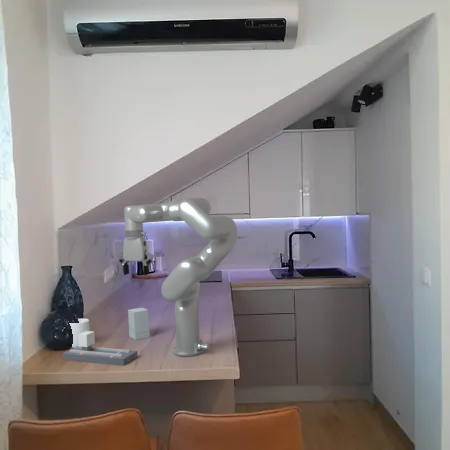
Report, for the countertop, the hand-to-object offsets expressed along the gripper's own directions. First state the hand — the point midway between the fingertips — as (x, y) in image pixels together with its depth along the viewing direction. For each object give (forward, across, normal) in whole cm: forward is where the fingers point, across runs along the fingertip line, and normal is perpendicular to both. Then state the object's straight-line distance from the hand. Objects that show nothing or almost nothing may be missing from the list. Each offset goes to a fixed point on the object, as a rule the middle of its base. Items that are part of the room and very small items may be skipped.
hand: (136, 274), depth 203 cm
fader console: (+30, +6, +20) cm, 37 cm away
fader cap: (+27, +12, +20) cm, 36 cm away
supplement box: (+31, +6, -10) cm, 33 cm away
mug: (+31, +27, +8) cm, 42 cm away
